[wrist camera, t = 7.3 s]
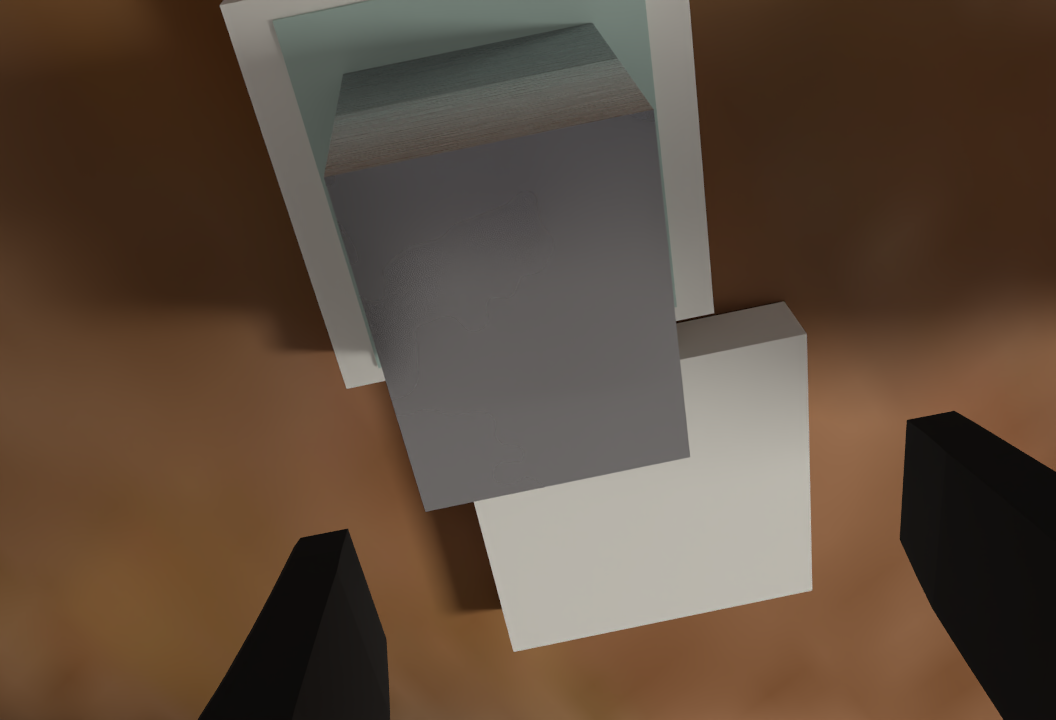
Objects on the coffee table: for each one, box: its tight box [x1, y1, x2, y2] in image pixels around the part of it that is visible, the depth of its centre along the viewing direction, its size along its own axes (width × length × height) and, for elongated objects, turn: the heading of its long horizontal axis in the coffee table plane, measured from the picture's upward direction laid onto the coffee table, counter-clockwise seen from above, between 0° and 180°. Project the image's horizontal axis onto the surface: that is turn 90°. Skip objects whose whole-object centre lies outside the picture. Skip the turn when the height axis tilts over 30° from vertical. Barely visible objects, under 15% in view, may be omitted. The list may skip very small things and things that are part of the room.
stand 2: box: [474, 301, 812, 652], centre depth 24 cm, size 8×8×2 cm
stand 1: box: [220, 0, 714, 389], centre depth 19 cm, size 8×8×2 cm
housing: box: [324, 23, 690, 512], centre depth 17 cm, size 4×6×5 cm
